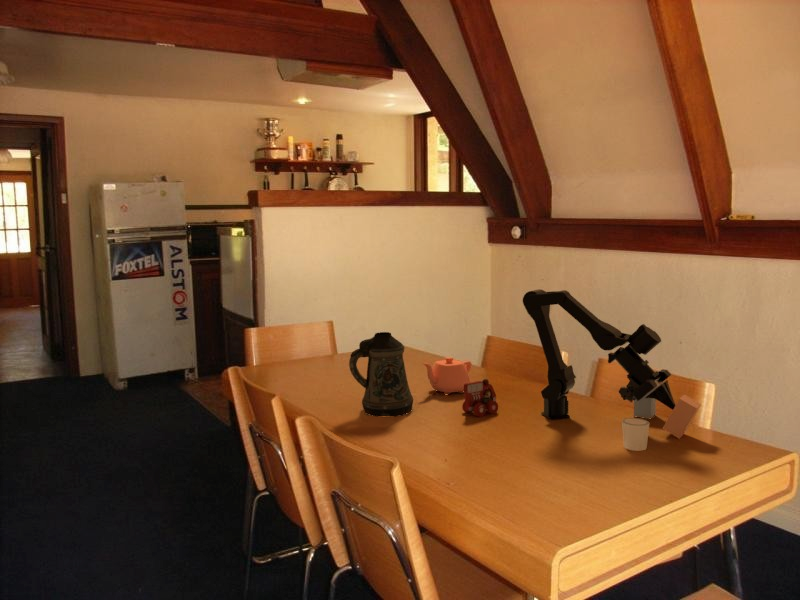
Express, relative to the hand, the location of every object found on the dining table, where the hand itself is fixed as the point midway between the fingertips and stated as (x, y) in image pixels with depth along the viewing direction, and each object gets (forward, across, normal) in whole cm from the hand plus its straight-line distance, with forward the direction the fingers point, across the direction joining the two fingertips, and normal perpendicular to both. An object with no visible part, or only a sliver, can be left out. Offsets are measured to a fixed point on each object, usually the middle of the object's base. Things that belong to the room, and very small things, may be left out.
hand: (674, 408), depth 187 cm
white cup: (+1, +16, -10) cm, 18 cm away
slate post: (-3, -14, -14) cm, 20 cm away
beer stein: (-54, +23, -63) cm, 86 cm away
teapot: (-50, -8, -60) cm, 79 cm away
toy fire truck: (-34, +8, -45) cm, 57 cm away
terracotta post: (+4, 0, -5) cm, 6 cm away
